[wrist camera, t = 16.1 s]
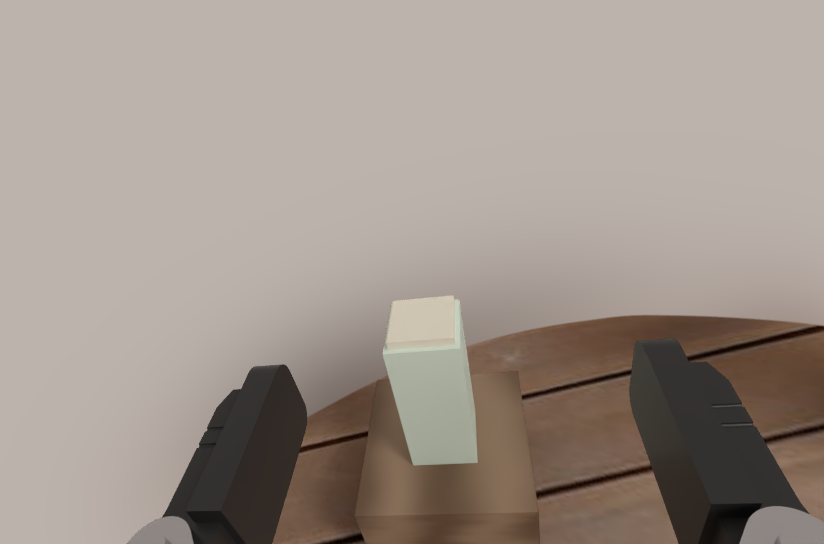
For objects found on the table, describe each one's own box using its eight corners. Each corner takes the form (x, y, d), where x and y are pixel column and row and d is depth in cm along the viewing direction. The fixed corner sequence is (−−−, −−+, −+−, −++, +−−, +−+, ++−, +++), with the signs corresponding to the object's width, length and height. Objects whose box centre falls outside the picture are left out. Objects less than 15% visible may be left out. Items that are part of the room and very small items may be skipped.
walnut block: (520, 418, 44) (517, 371, 40) (540, 558, 34) (538, 512, 31) (390, 425, 45) (377, 380, 42) (373, 560, 36) (354, 516, 32)
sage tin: (475, 410, 38) (458, 292, 31) (477, 462, 34) (459, 340, 28) (416, 413, 39) (388, 298, 32) (413, 465, 35) (380, 346, 28)
